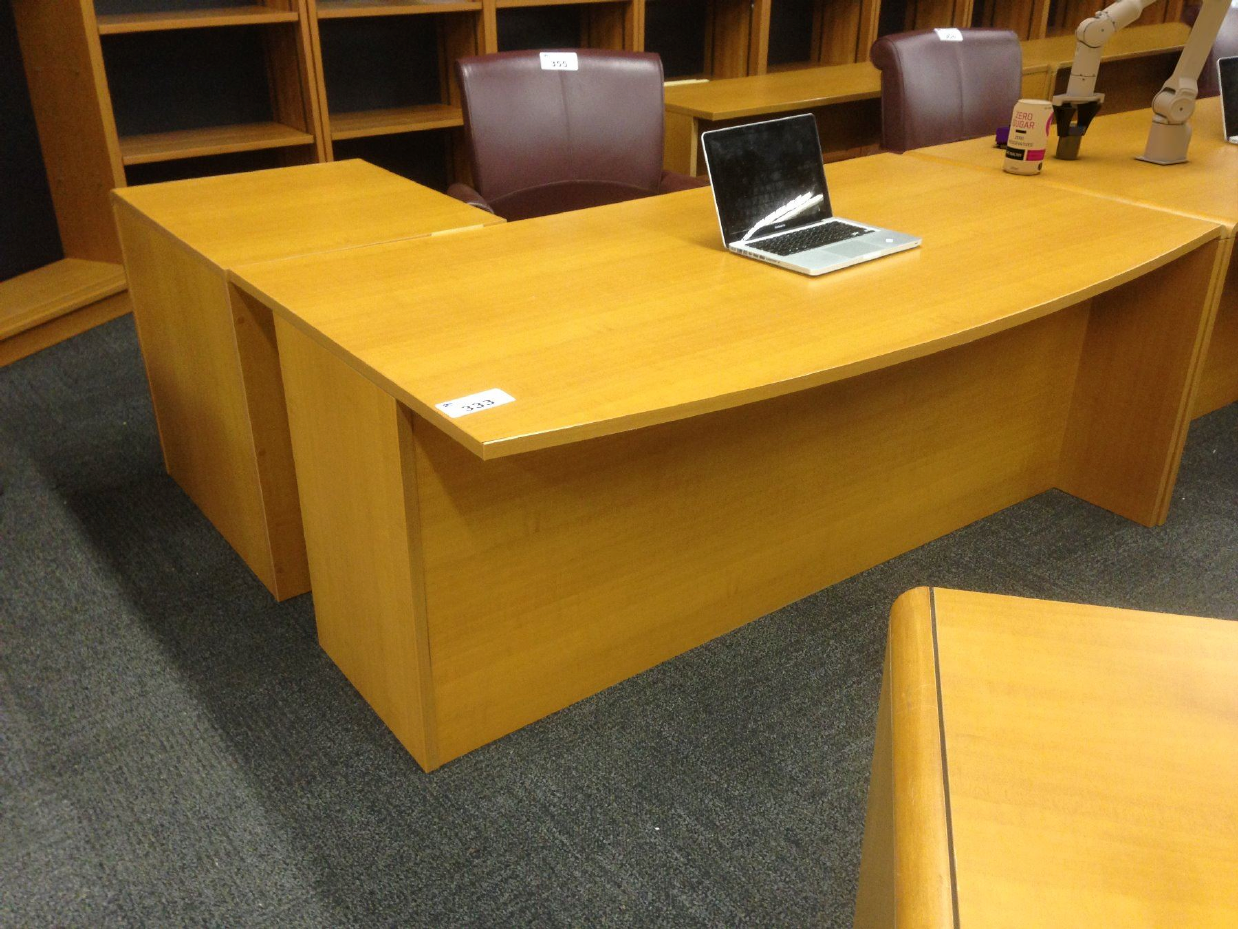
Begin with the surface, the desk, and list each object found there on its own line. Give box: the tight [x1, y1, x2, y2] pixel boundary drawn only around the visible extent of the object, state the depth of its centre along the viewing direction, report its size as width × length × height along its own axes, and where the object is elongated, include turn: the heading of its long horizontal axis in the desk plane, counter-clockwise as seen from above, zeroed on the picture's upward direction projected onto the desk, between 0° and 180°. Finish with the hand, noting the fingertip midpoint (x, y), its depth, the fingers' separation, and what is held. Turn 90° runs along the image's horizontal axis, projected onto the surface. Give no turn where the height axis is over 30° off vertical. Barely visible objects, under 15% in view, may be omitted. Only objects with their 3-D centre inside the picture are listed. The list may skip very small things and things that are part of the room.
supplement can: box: [1002, 98, 1054, 176], centre depth 232 cm, size 8×8×15 cm
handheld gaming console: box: [994, 124, 1011, 150], centre depth 262 cm, size 9×5×15 cm
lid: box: [1067, 122, 1086, 134], centre depth 246 cm, size 6×6×2 cm
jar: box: [1054, 134, 1083, 161], centre depth 248 cm, size 5×5×7 cm
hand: (1070, 135), depth 247 cm, fingers closed on lid, 5 cm apart
